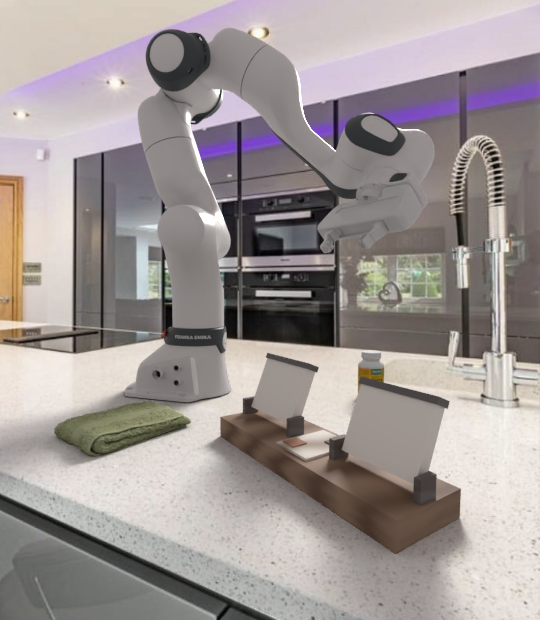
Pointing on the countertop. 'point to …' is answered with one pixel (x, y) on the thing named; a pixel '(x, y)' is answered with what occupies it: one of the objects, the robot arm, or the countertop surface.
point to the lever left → (284, 387)
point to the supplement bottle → (371, 366)
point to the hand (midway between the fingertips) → (342, 248)
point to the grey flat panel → (394, 428)
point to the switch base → (344, 478)
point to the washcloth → (119, 427)
